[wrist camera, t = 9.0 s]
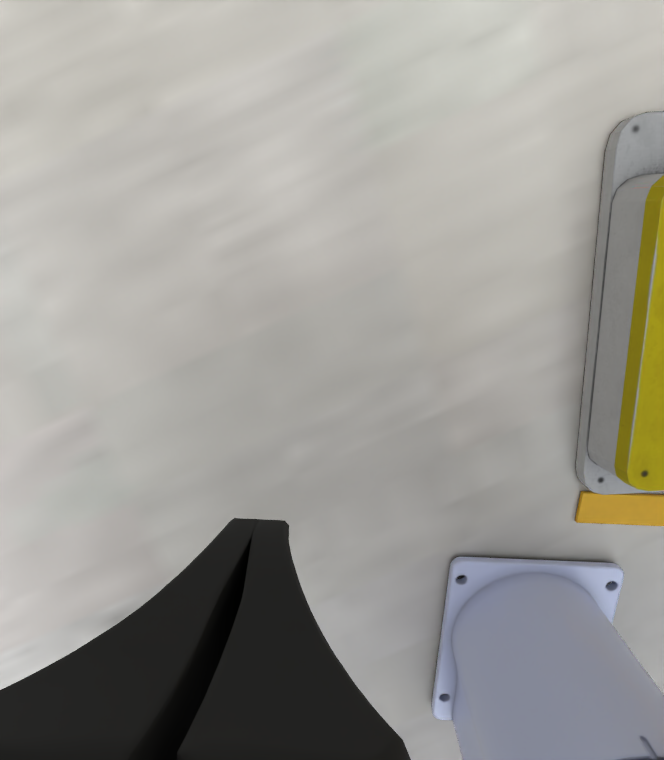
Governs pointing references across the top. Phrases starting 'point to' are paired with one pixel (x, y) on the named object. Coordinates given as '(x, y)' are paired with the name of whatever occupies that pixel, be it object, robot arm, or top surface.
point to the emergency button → (627, 319)
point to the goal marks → (621, 509)
